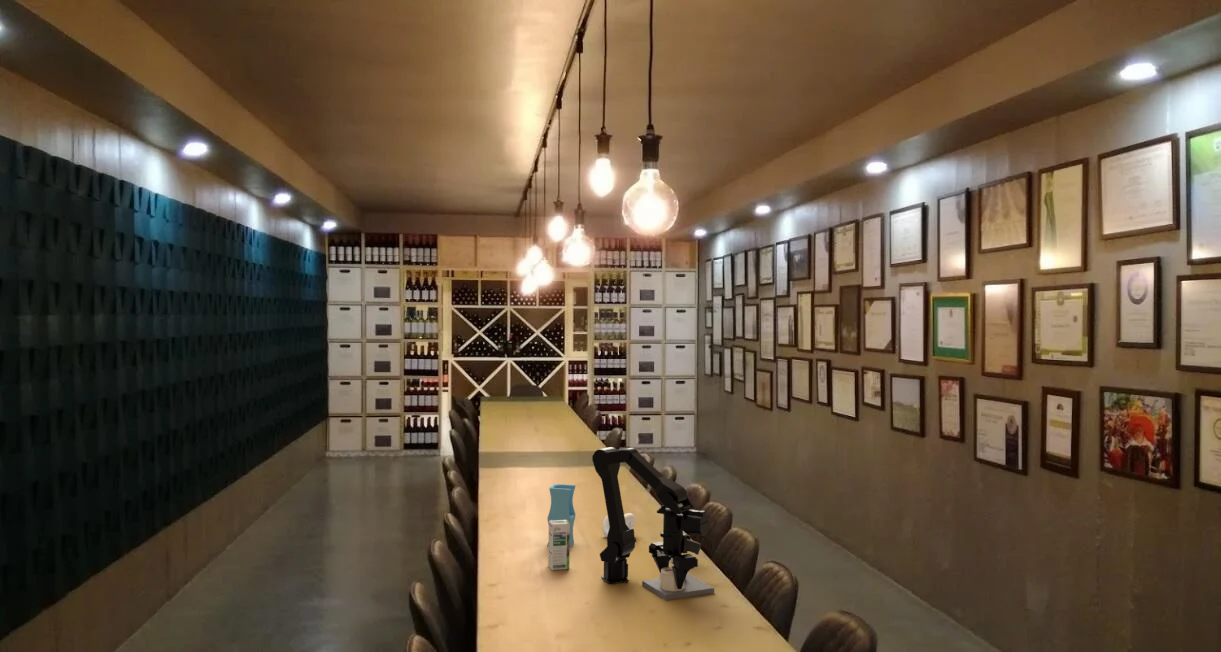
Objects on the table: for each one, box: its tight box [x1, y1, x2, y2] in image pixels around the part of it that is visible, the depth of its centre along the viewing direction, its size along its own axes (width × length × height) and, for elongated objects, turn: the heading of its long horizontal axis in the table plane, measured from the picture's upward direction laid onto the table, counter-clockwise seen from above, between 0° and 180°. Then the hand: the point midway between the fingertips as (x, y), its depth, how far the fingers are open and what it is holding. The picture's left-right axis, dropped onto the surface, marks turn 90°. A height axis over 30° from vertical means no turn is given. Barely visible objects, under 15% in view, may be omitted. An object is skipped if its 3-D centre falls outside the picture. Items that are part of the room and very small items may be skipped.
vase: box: [547, 483, 576, 548], centre depth 289 cm, size 8×8×20 cm
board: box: [641, 573, 715, 601], centre depth 242 cm, size 16×14×5 cm
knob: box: [659, 566, 685, 591], centre depth 239 cm, size 7×7×5 cm
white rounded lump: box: [601, 512, 637, 538], centre depth 299 cm, size 11×12×9 cm
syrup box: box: [547, 520, 571, 571], centre depth 262 cm, size 6×6×14 cm
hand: (672, 584), depth 239 cm, fingers open, 8 cm apart
